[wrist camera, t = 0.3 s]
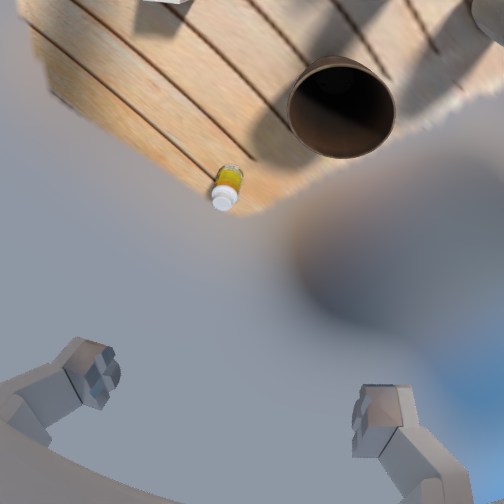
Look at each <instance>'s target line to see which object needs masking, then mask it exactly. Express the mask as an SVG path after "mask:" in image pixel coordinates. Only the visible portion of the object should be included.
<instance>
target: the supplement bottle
mask: <svg viewBox="0 0 504 504" xmlns="http://www.w3.org/2000/svg"><path fill="white" fill-rule="evenodd" d="M242 181H243V172H242V170H241V169H240V168H239V167H238V166H236V165H233V164H227V165H224V166H222V167H221V168H220V170H219V173H218V175H217V178H216V181H215V184H214V187H213V190H212V193H211V196H212V199H213V206H214V207H215V208H216V209H217V210H220V211H228V210H229V209H230V208H231V207H232V205H233V204H235V203H236V202H237V200H238V196H239V192H240V188H241V184H242Z"/></svg>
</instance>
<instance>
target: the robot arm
mask: <svg viewBox="0 0 504 504" xmlns="http://www.w3.org/2000/svg"><path fill="white" fill-rule="evenodd" d="M114 356H115V352H114V350H113V348H112V347H109V346H106V345H103V344H100V343H97V342H93V341H90V340H87V339H83V338H80V337H75V338H73V339H72V340H71V341H70V342H69V344H68V345H67V346H66V347H65V348H64V349H63V350H62V351H61V353H60V354H59V355H58V356H57V357H56V358H55V360H54V361H53V362H52V363H51V364H49V363H47V364H44V365H42V366H40V367H37V368H35V369H33V370H30V371H28V372H25V373H23V374H21V375H18V376H16V377H14V378H11V379H9V380H6V381H4V382H2V383H0V504H184V503H180V502H177V501H173V500H170V499H166V498H163V497H160V496H157V495H154V494H150V493H148V492H145V491H142V490H139V489H136V488H133V487H131V486H128V485H125V484H123V483H120V482H118V481H115V480H113V479H110V478H108V477H106V476H103V475H101V474H99V473H96V472H94V471H91V470H90V469H88V468H85V467H83V466H81V465H79V464H77V463H75V462H73V461H71V460H69V459H67V458H65V457H63V456H61V455H59V454H57V453H56V452H54V451H52V450H50V449H48V446H49V444H50V443H51V441H52V438H51V436H50V435H49V434H48V432H47V431H46V430H45V428H47V427H49V426H50V425H52V424H53V423H55V422H57V421H58V420H60V419H61V418H63V417H65V416H66V415H68V414H69V413H71V412H73V411H74V410H76V409H77V408H79V407H80V406H82V404H84V405H87V406H89V407H92V408H95V409H98V410H102V409H103V407H104V406H105V404H106V402H107V401H108V399H109V398H110V397H109V392H110V391H111V390H113V389H115V388H116V387H117V385H118V383H119V380H120V376H121V371H120V367H119V364H118V363H117V362H116V361H115V360H114ZM359 393H360V399H358V400H357V401H356V403H355V406H354V409H353V414H352V429H353V430H354V431H355V435H354V437H353V439H352V457H356V458H357V457H358V458H378V460H379V461H380V463H381V464H382V466H383V467H384V469H385V470H386V472H387V473H388V475H389V476H390V478H391V479H392V481H393V482H394V484H395V485H396V487H397V488H398V490H399V491H400V493H401V494H402V496H403V497H404V499H403V500H402V501H401V502H400V503H398V504H474V503H473V496H472V490H471V484H470V479H469V473H468V471H467V470H466V469H465V468H464V467H463V466H462V465H461V464H460V463H459V462H458V461H457V460H456V459H455V458H454V456H453V455H452V454H451V453H450V452H449V451H448V450H447V449H446V448H445V447H444V446H443V445H442V444H441V443H440V442H439V441H438V440H437V439H436V438H435V437H434V436H433V435H432V434H431V433H430V432H429V431H428V430H427V429H426V428H425V427H424V426H419V420H418V416H417V410H416V405H415V401H414V396H413V392H412V388H411V386H410V385H393V384H388V385H387V384H363V385H362V387H361V389H360V392H359ZM488 504H504V499H501V500H498V501H495V502H491V503H488Z"/></svg>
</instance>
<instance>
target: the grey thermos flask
mask: <svg viewBox="0 0 504 504" xmlns="http://www.w3.org/2000/svg"><path fill="white" fill-rule="evenodd" d="M471 11H472V16H473V18H474V20H475V22H476V24H477V26H478V27H479V28H480V29H481V30H482V31H483V32H484V33H485V34H486V35H488V36H489V37H490V38H491V39H493V40H494V41H496V42H497V43H499V44H500V45H502V46H503V47H504V0H473V2H472V8H471Z"/></svg>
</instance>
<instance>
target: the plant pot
mask: <svg viewBox="0 0 504 504" xmlns="http://www.w3.org/2000/svg"><path fill="white" fill-rule="evenodd" d="M347 81H348V83H346V82H347ZM322 83H325V85H322ZM287 117H288V122H289V125H290V127H291V130H292V131H293V133H294V135H295V136H296V137H297V139H298V140H299V141H300V142H301V143H302V144H303V145H304V146H306V147H307V148H308V149H310V150H312V151H313V152H315V153H317V154H320V155H323V156H326V157H330V158H336V159H349V158H355V157H359V156H363V155H365V154H368V153H370V152H372V151H374V150H375V149H377V148H378V147H379V146H380V145H381V144H382V143H383V142H384V141H385V140H386V139H387V138H388V136H389V135H390V133H391V131H392V129H393V126H394V123H395V118H396V107H395V102H394V99H393V96H392V94H391V92H390V90H389V88H388V87H387V86H386V84H385V83H384V82H383V81H382V80H381V79H380V78H379V77H378V76H377V75H376V74H374V73H373V72H372V71H371V70H369V69H368V68H367V67H365V66H364V65H362V64H360V63H358V62H356V61H354V60H351V59H349V58H345V57H340V56H328V57H324V58H321V59H319V60H317V61H315V62H314V63H312V64H311V65H310V66H309V67H308V68H307V69H306V70H305V71H304V72H303V73H302V74H301V76H300V77H299V79H298V80H297V82H296V84H295V86H294V88H293V90H292V92H291V94H290V97H289V100H288V105H287Z"/></svg>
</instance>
